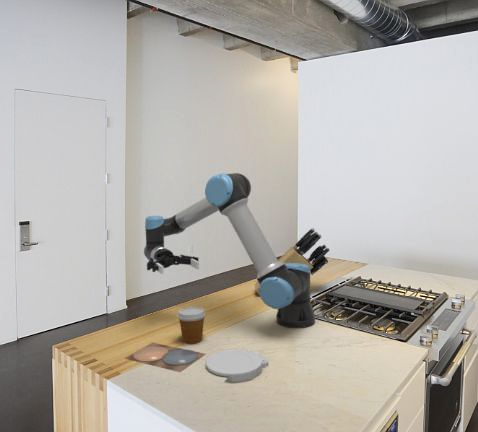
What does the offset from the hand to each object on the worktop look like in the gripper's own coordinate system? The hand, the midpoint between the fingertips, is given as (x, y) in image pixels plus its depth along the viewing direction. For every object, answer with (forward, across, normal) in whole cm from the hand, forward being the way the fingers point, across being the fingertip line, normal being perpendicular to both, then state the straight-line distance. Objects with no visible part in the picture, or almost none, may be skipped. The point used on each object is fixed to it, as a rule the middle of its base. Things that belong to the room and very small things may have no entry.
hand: (180, 267), depth 159 cm
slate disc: (+21, +9, -24) cm, 33 cm away
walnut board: (+18, +12, -25) cm, 33 cm away
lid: (+34, -5, -25) cm, 43 cm away
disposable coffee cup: (+10, 0, -25) cm, 27 cm away
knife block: (-24, -64, -25) cm, 73 cm away
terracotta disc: (+14, +16, -24) cm, 32 cm away
